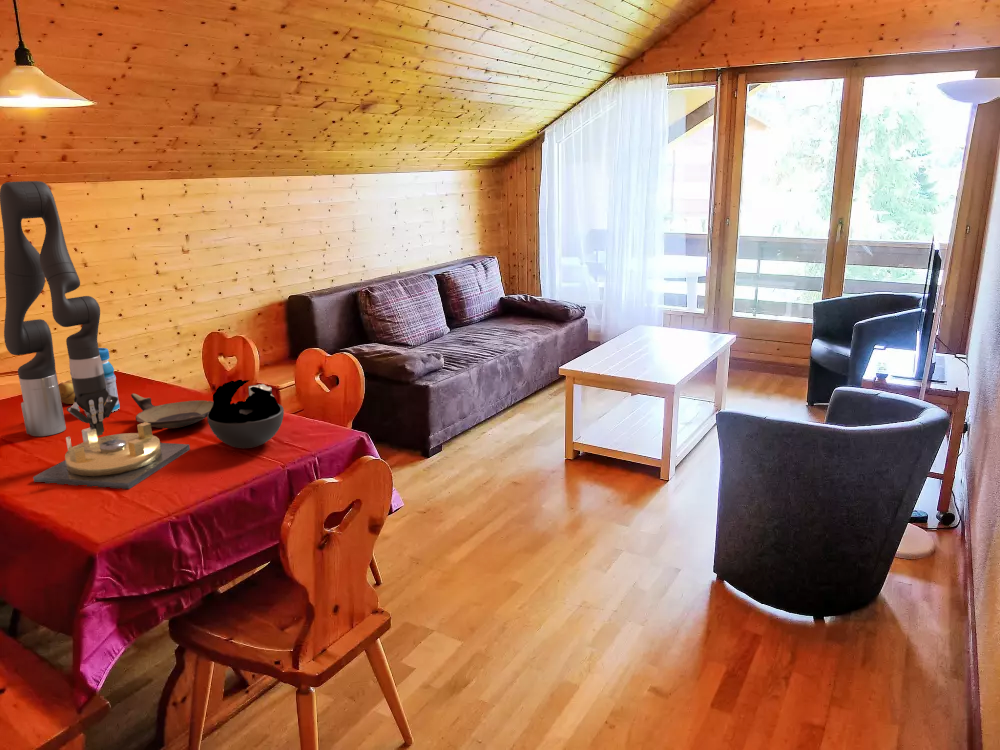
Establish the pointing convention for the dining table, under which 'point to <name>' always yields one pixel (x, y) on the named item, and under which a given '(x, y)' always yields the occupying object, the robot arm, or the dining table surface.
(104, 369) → the beverage bottle
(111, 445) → the round brass tray
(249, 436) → the bowl of black rocks
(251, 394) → the pneumatic valve
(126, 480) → the base plate
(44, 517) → the dining table surface
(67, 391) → the bread roll
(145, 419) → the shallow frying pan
